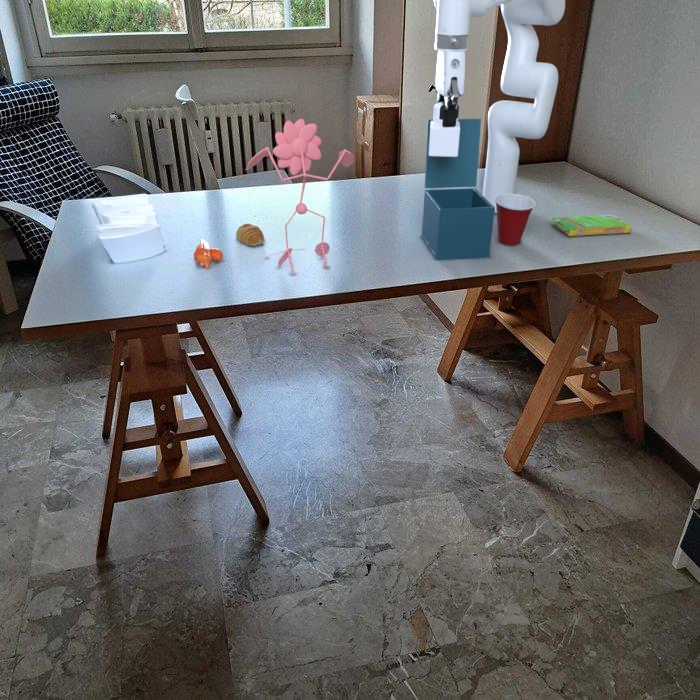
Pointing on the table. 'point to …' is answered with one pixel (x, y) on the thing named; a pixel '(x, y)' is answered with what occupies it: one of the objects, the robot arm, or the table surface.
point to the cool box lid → (455, 159)
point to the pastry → (250, 235)
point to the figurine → (297, 154)
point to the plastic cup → (512, 217)
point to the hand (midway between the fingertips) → (445, 122)
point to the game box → (591, 225)
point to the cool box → (457, 223)
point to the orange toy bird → (206, 254)
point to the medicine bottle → (443, 135)
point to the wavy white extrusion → (128, 227)
